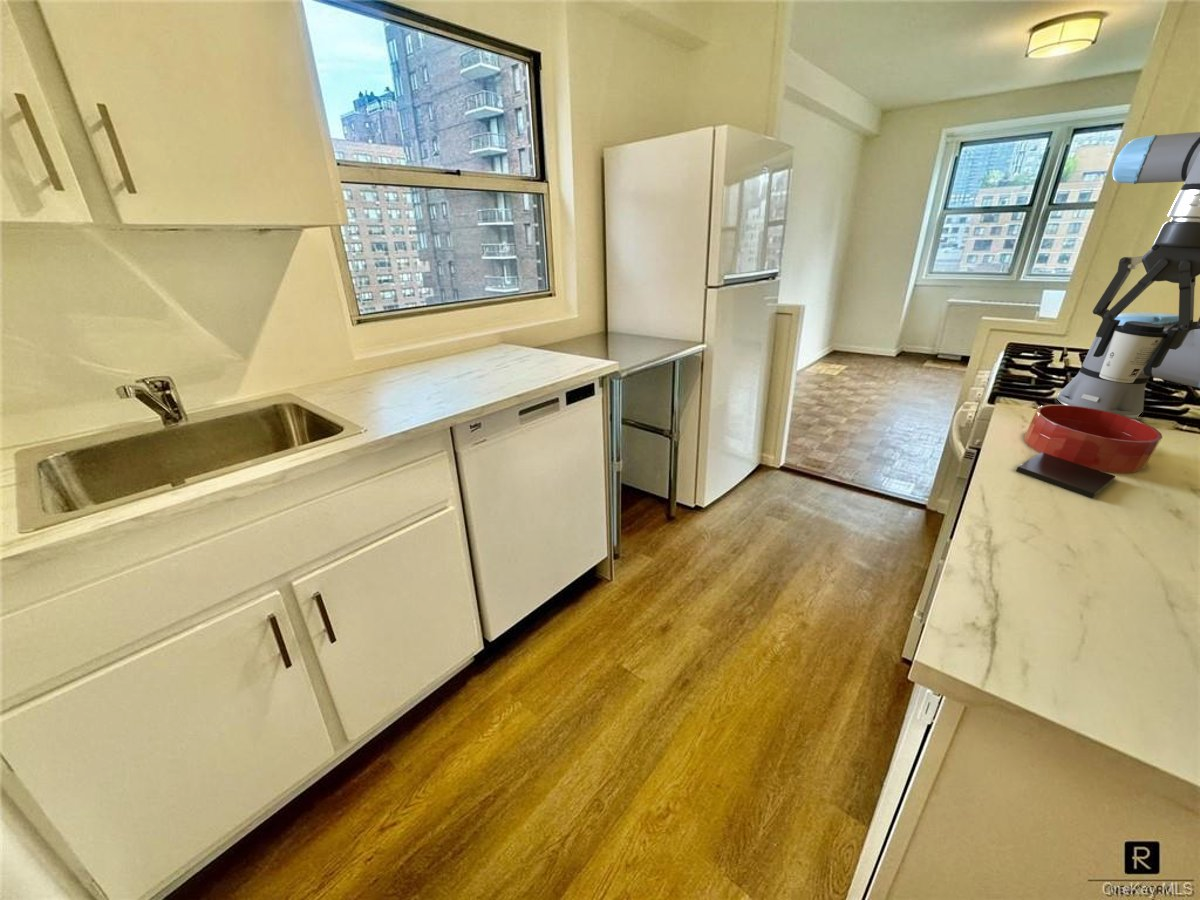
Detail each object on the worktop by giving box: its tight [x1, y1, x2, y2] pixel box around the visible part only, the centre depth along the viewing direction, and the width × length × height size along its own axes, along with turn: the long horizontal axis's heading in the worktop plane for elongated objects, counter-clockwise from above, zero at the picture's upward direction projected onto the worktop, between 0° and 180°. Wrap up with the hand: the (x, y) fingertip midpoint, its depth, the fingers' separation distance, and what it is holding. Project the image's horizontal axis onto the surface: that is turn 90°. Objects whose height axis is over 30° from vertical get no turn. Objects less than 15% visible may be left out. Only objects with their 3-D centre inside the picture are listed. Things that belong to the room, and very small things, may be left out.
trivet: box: [1015, 452, 1116, 499], centre depth 88 cm, size 11×11×1 cm
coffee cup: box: [1099, 321, 1168, 383], centre depth 87 cm, size 7×7×10 cm
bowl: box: [1023, 404, 1163, 474], centre depth 96 cm, size 18×18×6 cm
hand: (1125, 360), depth 87 cm, fingers closed on coffee cup, 7 cm apart
